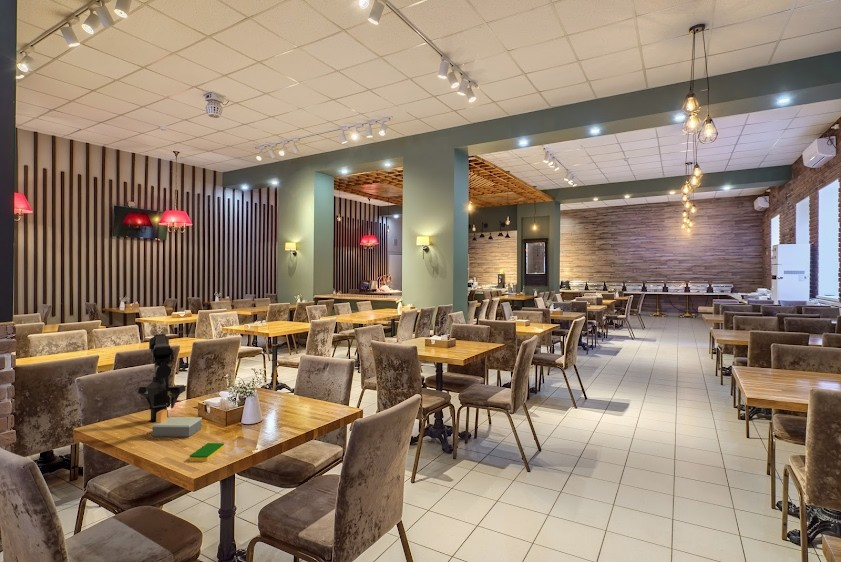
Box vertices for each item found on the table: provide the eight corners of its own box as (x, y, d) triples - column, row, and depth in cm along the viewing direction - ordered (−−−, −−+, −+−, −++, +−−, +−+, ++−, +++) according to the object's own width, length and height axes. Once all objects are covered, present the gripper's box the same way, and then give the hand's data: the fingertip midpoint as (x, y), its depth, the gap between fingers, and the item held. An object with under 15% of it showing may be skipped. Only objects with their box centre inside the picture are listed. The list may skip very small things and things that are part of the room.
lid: (151, 429, 197) (152, 414, 197) (166, 421, 208) (166, 407, 208) (189, 429, 197) (189, 415, 197) (201, 421, 208) (201, 407, 208)
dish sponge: (224, 448, 185) (224, 442, 185) (207, 462, 172) (207, 456, 172) (207, 448, 186) (207, 442, 186) (188, 462, 172) (188, 455, 172)
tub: (152, 437, 197) (152, 426, 197) (166, 428, 208) (166, 419, 208) (188, 437, 197) (188, 427, 197) (201, 429, 208) (201, 419, 208)
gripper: (130, 377, 195) (129, 413, 195) (173, 377, 195) (172, 413, 195) (145, 372, 206) (145, 406, 206) (186, 372, 206) (186, 406, 206)
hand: (161, 408), depth 203 cm, fingers open, 9 cm apart
